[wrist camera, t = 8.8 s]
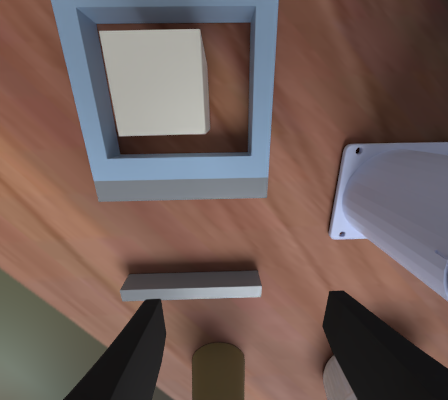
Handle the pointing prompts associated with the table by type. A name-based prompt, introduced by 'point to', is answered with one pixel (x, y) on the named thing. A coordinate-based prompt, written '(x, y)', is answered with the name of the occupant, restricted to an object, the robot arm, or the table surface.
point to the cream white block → (157, 81)
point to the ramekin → (336, 382)
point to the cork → (218, 372)
